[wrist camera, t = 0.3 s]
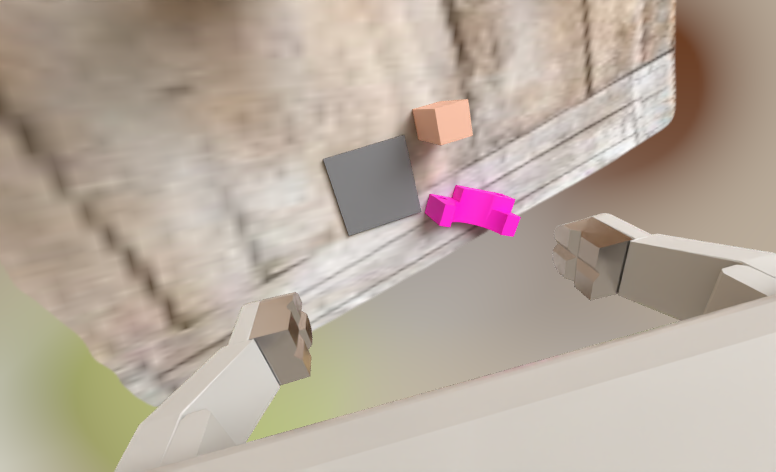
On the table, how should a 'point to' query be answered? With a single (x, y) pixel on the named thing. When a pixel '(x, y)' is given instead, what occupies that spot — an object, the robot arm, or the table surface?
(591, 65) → the table surface
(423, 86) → the table surface
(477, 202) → the toy block
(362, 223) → the mat
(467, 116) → the pillar block
